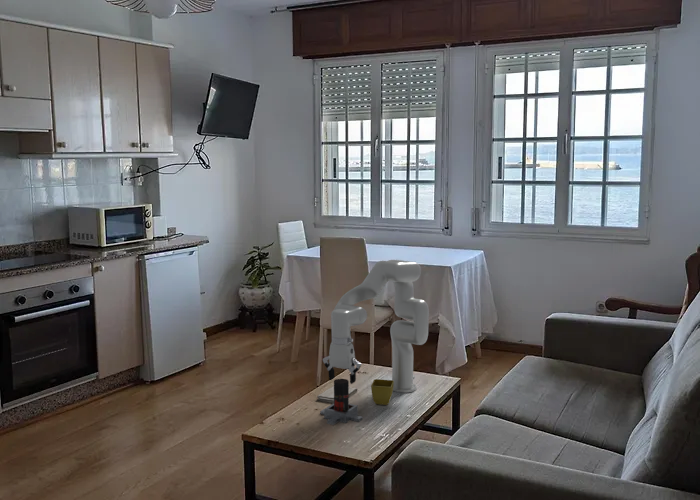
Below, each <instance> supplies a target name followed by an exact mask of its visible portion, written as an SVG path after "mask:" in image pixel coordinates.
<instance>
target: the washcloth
mask: <svg viewBox="0 0 700 500" xmlns="http://www.w3.org/2000/svg"><path fill="white" fill-rule="evenodd" d="M357 393H358V388H357V387H351V386H350V387H349V399H350V398H351V397H353V396H354V395H356V394H357ZM316 397H317V401H320V402H323V403H329V404H333V403H334V385H333V386H331V387H329V388H327V389H326V390H325V391H323V392H321V393H320V394H318V395H317V396H316Z"/></svg>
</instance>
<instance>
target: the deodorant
mask: <svg viewBox="0 0 700 500" xmlns="http://www.w3.org/2000/svg"><path fill="white" fill-rule="evenodd" d="M349 383H350V380H348V379H346V378H336V379H334V380H333V386H334V410H337V411H342V412H346V411H347V410H349V404H350V403H349V401H350V400H349V399H350V398H349Z"/></svg>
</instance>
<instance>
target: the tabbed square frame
mask: <svg viewBox="0 0 700 500" xmlns="http://www.w3.org/2000/svg"><path fill="white" fill-rule="evenodd" d="M358 411H359V405H357V404H351V403H349V410H347V411H346V412H342V411H337V410H334V403H331V404H330V405H329V406H327V407H326V408H323V409H322V410H320V415H323V416H324V417H323V419H325V420H326V424H328V425H332V426H334V425H335V424H338V422H339V423H344V424H347V423H349V422H350V421H352V422H358V423H360V422H361V421H363V416H361V415H359V412H358Z"/></svg>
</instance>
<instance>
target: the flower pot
mask: <svg viewBox="0 0 700 500" xmlns="http://www.w3.org/2000/svg"><path fill="white" fill-rule="evenodd" d="M393 385H394V380H392V379H380V378H379V379H377V378H375V379H373V381H372V383H371V386H370V389H371V397H372V400H373V402H374V404H375V405H381V406H388V405H389V403H390V401H391V398H392V396H393V392H394V391H393Z"/></svg>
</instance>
